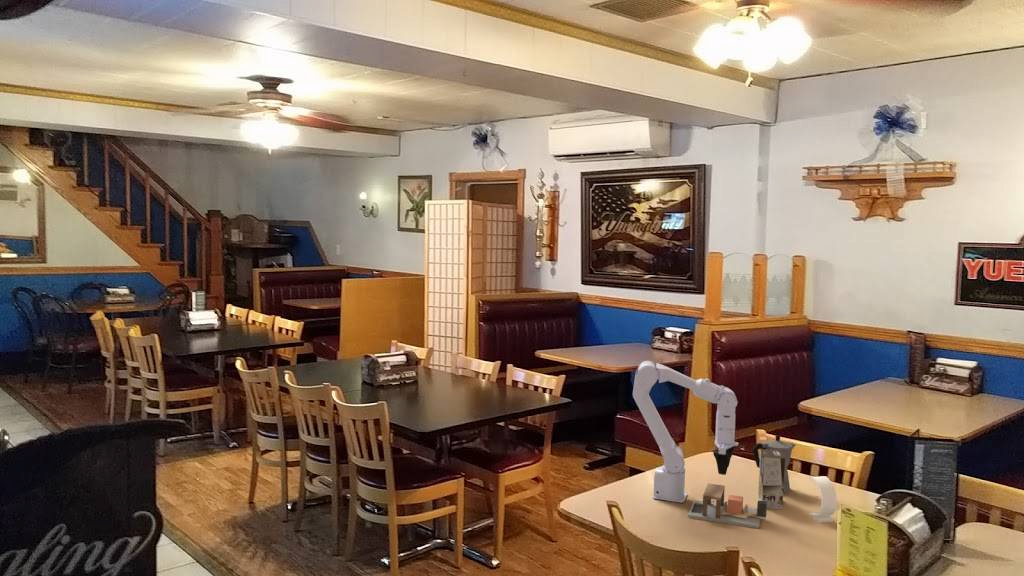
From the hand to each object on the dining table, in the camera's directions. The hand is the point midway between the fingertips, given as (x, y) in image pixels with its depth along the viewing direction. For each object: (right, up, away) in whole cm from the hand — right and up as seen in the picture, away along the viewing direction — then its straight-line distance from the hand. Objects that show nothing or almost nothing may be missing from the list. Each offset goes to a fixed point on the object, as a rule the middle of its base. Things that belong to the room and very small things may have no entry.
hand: (723, 470), depth 234 cm
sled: (+3, -10, -12) cm, 16 cm away
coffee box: (+14, -10, -1) cm, 18 cm away
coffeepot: (+20, -9, +12) cm, 25 cm away
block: (0, -9, -11) cm, 15 cm away
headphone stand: (+26, -12, -13) cm, 31 cm away
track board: (-2, -11, -10) cm, 15 cm away
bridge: (-6, -11, -9) cm, 15 cm away
